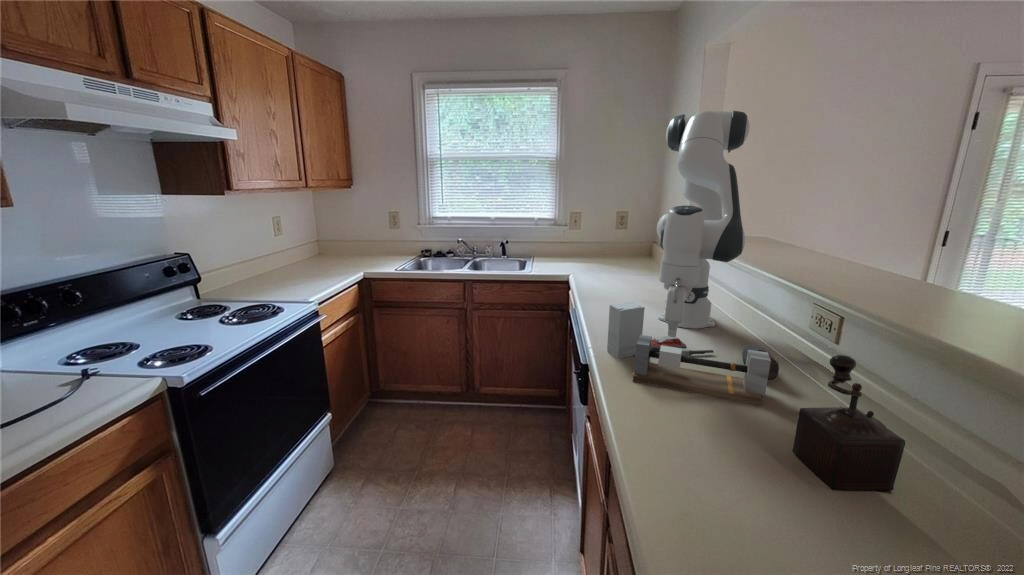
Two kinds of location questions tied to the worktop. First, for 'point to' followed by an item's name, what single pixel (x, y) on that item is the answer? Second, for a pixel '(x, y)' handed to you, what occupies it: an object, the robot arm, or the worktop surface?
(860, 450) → the manual coffee grinder
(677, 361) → the sleeve
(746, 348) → the perforated stone tool
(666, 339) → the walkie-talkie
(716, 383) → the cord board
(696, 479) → the worktop surface
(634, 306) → the skincare box
